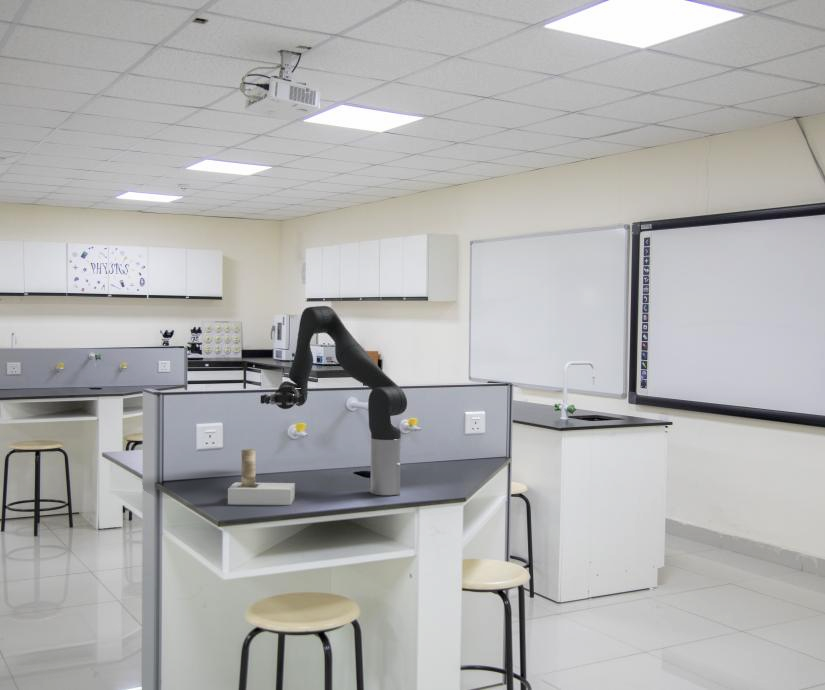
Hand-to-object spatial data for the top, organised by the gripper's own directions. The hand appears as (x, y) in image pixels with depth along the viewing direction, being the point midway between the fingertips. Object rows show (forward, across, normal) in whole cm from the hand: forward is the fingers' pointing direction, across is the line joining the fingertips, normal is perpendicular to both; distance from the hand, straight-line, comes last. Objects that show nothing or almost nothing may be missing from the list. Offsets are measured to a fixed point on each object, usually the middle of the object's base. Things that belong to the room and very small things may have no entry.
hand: (280, 400), depth 268 cm
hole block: (+20, -3, +28) cm, 34 cm away
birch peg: (+19, -7, +28) cm, 35 cm away
